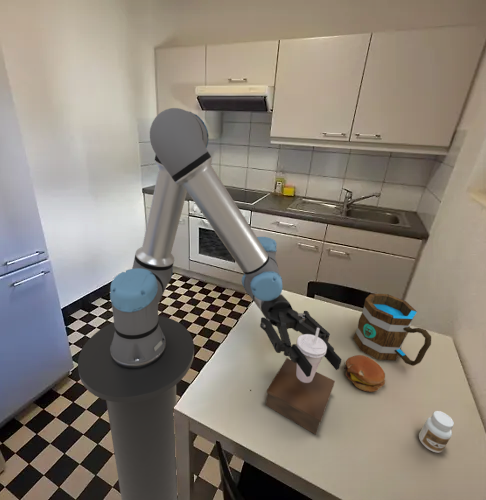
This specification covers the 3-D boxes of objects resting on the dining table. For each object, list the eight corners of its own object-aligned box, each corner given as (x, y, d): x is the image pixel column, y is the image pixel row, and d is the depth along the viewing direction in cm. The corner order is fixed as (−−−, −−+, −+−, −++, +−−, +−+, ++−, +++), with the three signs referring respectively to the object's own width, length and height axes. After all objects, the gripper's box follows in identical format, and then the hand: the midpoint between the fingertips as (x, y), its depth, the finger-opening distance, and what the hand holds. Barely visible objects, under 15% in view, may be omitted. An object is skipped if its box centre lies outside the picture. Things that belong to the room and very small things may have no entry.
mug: (343, 335, 91) (355, 296, 85) (373, 327, 95) (386, 289, 89) (398, 383, 74) (417, 339, 68) (431, 370, 79) (451, 328, 73)
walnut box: (264, 405, 66) (266, 390, 64) (284, 371, 75) (286, 357, 74) (316, 436, 60) (321, 420, 58) (330, 395, 69) (335, 380, 67)
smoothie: (314, 392, 60) (327, 342, 55) (286, 379, 63) (296, 329, 58) (321, 373, 65) (334, 325, 60) (295, 361, 68) (305, 314, 63)
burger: (381, 371, 77) (385, 359, 75) (383, 398, 69) (389, 385, 68) (343, 359, 81) (347, 347, 79) (341, 383, 73) (345, 370, 71)
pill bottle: (421, 449, 59) (435, 424, 56) (415, 429, 62) (427, 405, 59) (446, 456, 57) (461, 432, 54) (438, 436, 61) (451, 412, 58)
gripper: (300, 311, 81) (358, 372, 61) (239, 320, 76) (280, 391, 56) (305, 288, 78) (366, 345, 58) (241, 297, 73) (285, 363, 53)
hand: (324, 368), depth 57 cm, fingers closed on smoothie, 6 cm apart
